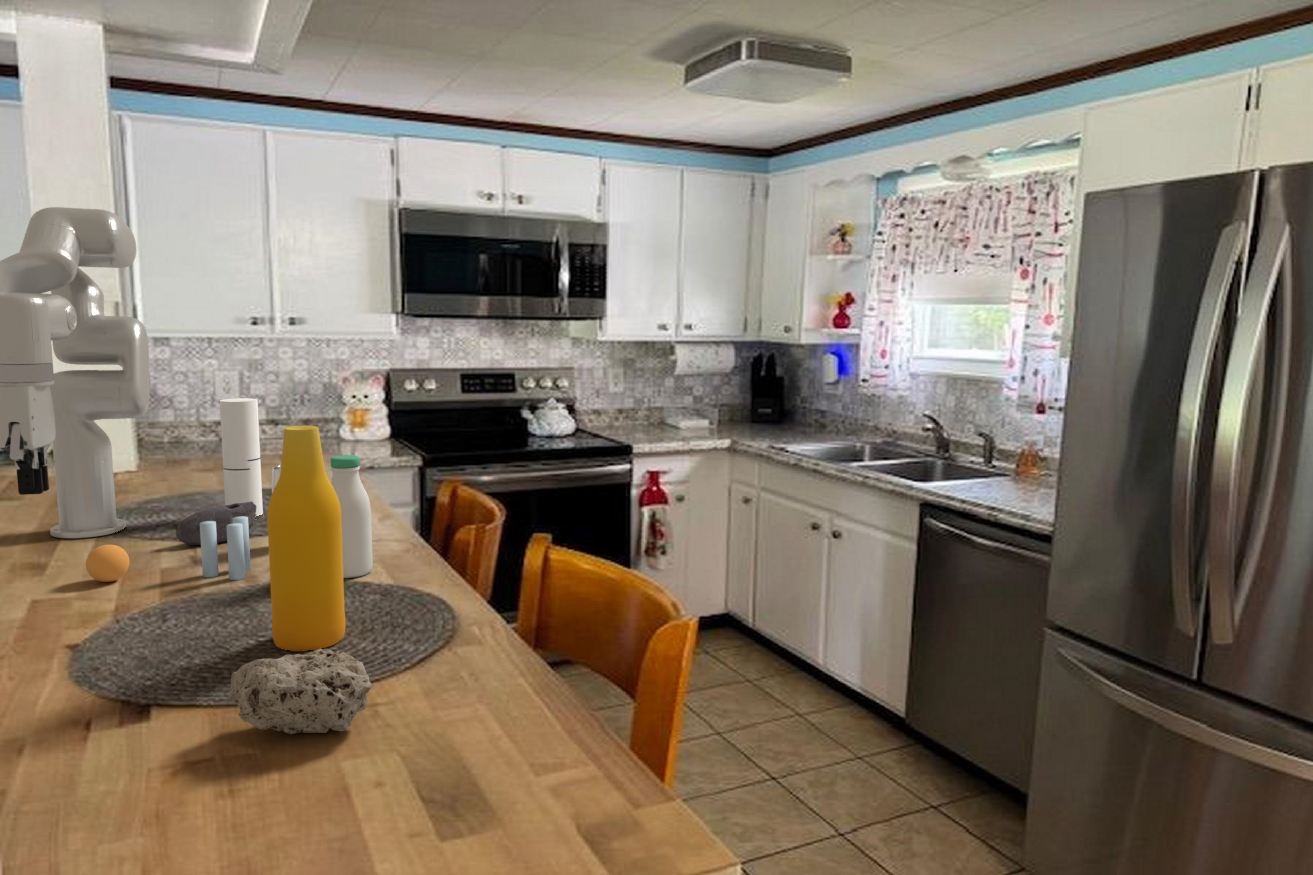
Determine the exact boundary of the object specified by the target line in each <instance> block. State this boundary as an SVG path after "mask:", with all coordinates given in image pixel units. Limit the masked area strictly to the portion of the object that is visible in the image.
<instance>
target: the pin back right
mask: <svg viewBox="0 0 1313 875" xmlns="http://www.w3.org/2000/svg"><path fill="white" fill-rule="evenodd" d="M232 520H233V523H241V524H243V541H244V561H245V572H247V571H251V568H252V567H251V552H250V551H251V550H250V547H251V545H250V536H249V526H248V517H245V516H240V517H234V518H232Z"/></svg>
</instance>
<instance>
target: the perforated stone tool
mask: <svg viewBox="0 0 1313 875" xmlns="http://www.w3.org/2000/svg"><path fill="white" fill-rule="evenodd" d="M255 513H256V505H255V504H254V503H253V502H245V503H236V504H232V505H225V504H224V505H220V506H215V507H211V508H207V509H204V510H201V511H199V512H196V513H194V514H193V513H192V514H191V515H189V516H187V517H185V518H184V519H183V520H181V521H179V523H178V524H177V526H176V528H175V536H176V538H177V539H178V540H179V542H181V543H183V544H186V545H191V546H201V538H200V523H201V522H205V521H215V522H216V533H217V544H220V543H227V525H228V524H233V520H232V518H234V517H240V516H245V517H248V526H249V537H251V536H253V533H254V529H255V522H256V521H255V520H256V519H255V516H256V514H255Z"/></svg>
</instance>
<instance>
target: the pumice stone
mask: <svg viewBox="0 0 1313 875" xmlns="http://www.w3.org/2000/svg"><path fill="white" fill-rule="evenodd" d="M372 684H373V683H371V681H370V677H369V675H368V673H367V670H366V668H365V665H364V664H363V662H362V661H359V660H358V659H356V658H355V657H353V656H352V655H351V654H347V653H345V652H344V651H339V650H336V651H335V652H334V651H333V650H331V649H329V648H323V649H318V650H313V651H308V652H307V653H303V654H299V653H297V654H285V655H283V656H281V657H279V658H270V657H269V658H261V659H259V658H258V659H255V660H252V661H250V662H248V663H244V664H242V665H241V666H240V668H239V669H237V671H235V672H232V673H231V678H230V689H229V696H228V697H229V699H228V700H231V702H232V703H233V704H236V705H237V706H238V707H239V711H238V717H239V718H240V719H241V720H242V721H243V722H245V723H248V724H250V725H252V726H254V728H255V729H260V730H265V731H266V730H268V729H270V730H271V729H272V730H274V731H278V732H280V731H282V732H284V733H285V734H289V735H293V734H294V735H295V734H298V733H300V734H301V733H304V734H315V733H318V734H319V733H321V734H322V733H325V734H326V733H327V732H328V731H329V730H330V729H331V730H332V731H339V732H343V731H346V730H347V729H348V728H349V727H350V726H351V724H352V721H353V720H354V718H355V716H356V715H357V713H359V712H361V711H364V710H365V709H366V707H367V704H368V702H369V701H368V693H369V692H370V691H371V689H373V685H372Z"/></svg>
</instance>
